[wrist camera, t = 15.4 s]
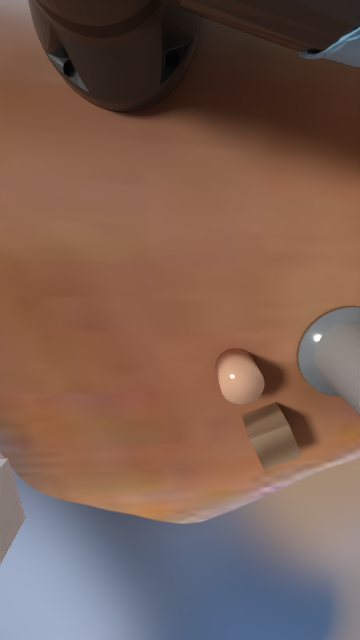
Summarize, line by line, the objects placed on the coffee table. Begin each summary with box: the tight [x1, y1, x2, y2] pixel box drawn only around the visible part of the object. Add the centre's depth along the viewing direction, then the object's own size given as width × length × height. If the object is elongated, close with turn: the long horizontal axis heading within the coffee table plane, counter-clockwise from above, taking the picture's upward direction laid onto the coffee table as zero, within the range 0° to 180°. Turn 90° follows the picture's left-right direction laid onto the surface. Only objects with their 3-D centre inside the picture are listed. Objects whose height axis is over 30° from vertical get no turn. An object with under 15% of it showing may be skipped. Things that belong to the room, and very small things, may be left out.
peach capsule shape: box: [216, 348, 265, 404], centre depth 36 cm, size 5×5×5 cm
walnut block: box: [242, 402, 302, 470], centre depth 39 cm, size 5×5×5 cm
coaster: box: [297, 306, 360, 396], centre depth 38 cm, size 12×12×1 cm
